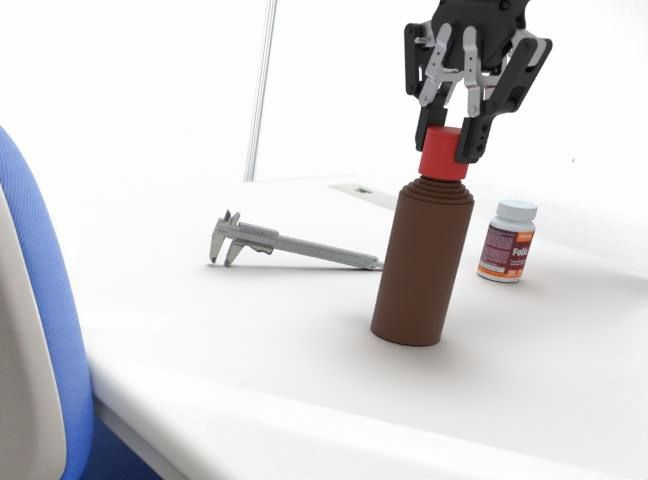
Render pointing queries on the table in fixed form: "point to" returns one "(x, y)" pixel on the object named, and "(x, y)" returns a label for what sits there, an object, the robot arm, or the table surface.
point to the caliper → (278, 244)
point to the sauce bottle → (422, 260)
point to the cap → (442, 154)
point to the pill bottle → (508, 241)
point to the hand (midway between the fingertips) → (446, 156)
